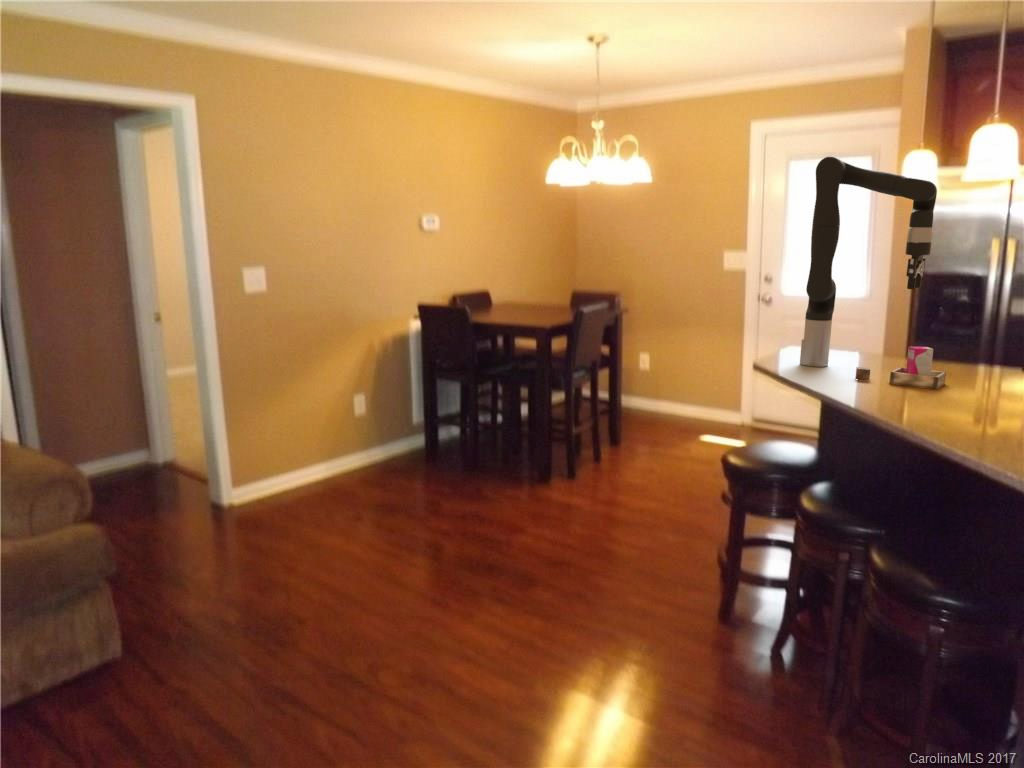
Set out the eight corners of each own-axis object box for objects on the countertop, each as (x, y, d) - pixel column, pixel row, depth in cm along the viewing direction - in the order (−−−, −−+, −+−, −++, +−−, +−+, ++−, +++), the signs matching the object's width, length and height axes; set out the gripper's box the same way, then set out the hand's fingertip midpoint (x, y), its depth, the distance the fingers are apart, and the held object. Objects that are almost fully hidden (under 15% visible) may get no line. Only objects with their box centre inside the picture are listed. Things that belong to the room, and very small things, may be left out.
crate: (889, 383, 249) (890, 372, 248) (898, 378, 258) (899, 367, 257) (936, 389, 240) (938, 377, 239) (944, 384, 249) (946, 372, 248)
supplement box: (922, 380, 251) (926, 346, 249) (930, 383, 246) (934, 348, 243) (904, 379, 252) (908, 345, 250) (911, 383, 246) (915, 348, 244)
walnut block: (856, 380, 255) (857, 368, 254) (855, 378, 258) (856, 367, 258) (869, 381, 253) (870, 369, 253) (868, 379, 257) (869, 367, 256)
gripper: (912, 240, 266) (907, 286, 269) (901, 241, 255) (896, 289, 258) (935, 241, 261) (930, 287, 264) (926, 241, 250) (920, 290, 254)
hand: (913, 288), depth 261 cm, fingers open, 8 cm apart
